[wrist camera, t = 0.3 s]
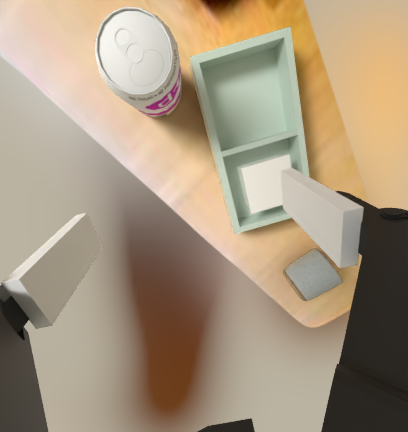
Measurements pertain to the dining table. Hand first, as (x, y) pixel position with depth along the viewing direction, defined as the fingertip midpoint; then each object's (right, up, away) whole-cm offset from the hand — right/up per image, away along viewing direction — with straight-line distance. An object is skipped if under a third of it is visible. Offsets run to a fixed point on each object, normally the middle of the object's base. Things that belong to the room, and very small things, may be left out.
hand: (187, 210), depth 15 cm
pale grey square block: (+11, +6, +25) cm, 28 cm away
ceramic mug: (+22, -11, +33) cm, 41 cm away
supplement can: (-6, +19, +20) cm, 29 cm away
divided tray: (+9, +12, +24) cm, 28 cm away
